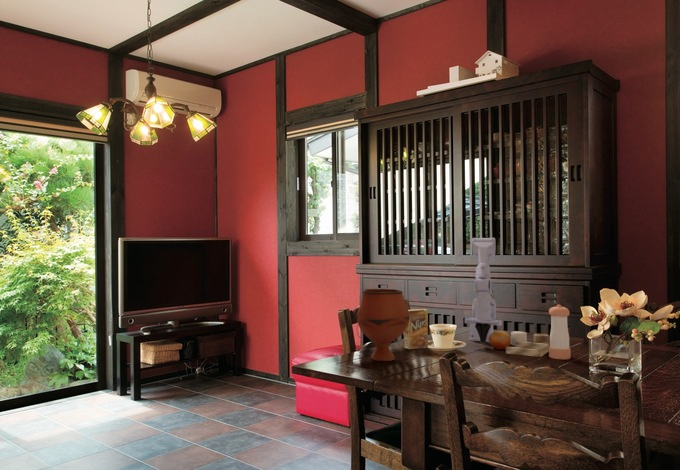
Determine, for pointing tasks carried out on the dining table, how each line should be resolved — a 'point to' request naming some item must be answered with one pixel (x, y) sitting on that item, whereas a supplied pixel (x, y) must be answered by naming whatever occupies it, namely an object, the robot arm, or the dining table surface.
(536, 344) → the tray
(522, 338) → the white block
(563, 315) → the salt shaker
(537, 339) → the walnut block
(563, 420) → the dining table surface
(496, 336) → the fruit
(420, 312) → the candy box
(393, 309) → the goblet
